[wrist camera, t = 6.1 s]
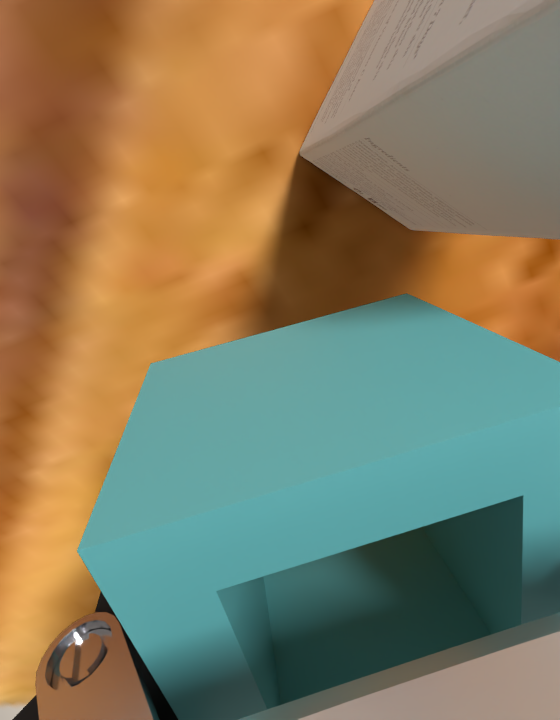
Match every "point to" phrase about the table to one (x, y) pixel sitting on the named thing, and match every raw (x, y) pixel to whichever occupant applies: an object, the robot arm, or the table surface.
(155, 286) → the table surface
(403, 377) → the bead
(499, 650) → the robot arm
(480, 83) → the small box
